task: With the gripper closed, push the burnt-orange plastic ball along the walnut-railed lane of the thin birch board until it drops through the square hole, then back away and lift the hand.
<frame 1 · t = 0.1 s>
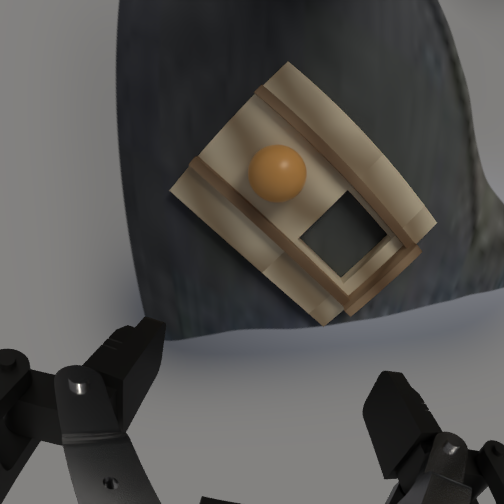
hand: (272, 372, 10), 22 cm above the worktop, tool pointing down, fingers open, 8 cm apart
ball: (277, 173, 26), point 4 cm above the worktop, touching deck
deck: (310, 200, 30), on the worktop
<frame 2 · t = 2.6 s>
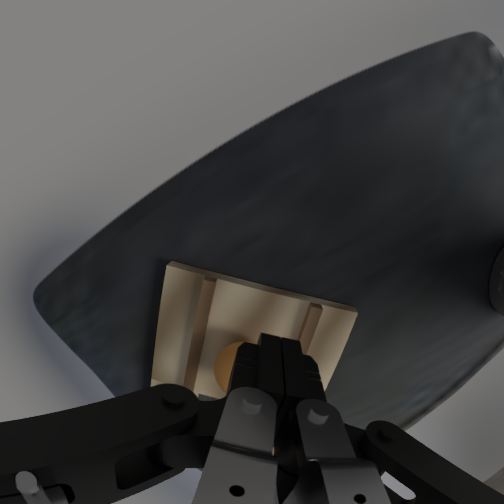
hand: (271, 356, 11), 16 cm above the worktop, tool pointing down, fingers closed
ball: (243, 370, 25), point 4 cm above the worktop, touching deck
deck: (236, 382, 29), on the worktop
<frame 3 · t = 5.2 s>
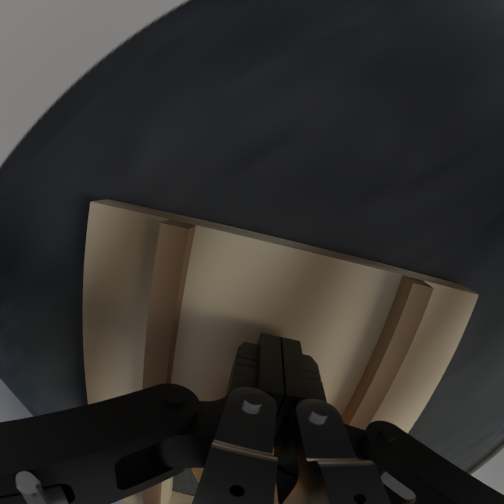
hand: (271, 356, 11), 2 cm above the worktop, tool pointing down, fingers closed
deck: (242, 435, 15), on the worktop
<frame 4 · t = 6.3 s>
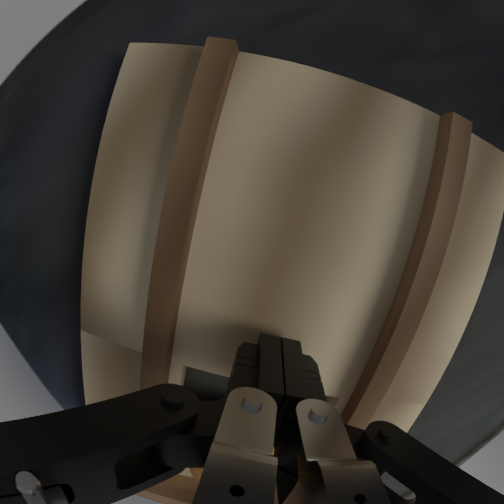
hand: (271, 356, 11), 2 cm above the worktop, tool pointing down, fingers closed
deck: (272, 339, 13), on the worktop
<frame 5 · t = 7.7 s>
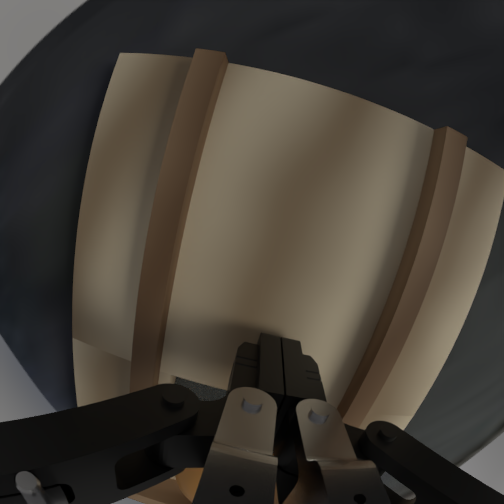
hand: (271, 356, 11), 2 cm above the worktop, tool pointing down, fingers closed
ball: (225, 470, 12), point 2 cm above the worktop, tilted 128°
deck: (260, 350, 13), on the worktop
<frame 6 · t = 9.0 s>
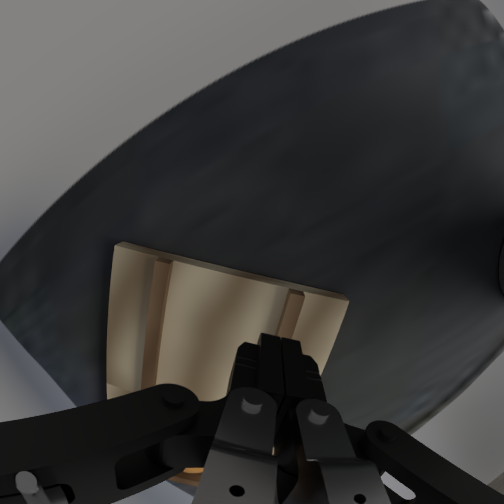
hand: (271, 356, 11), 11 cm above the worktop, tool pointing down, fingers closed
deck: (205, 388, 24), on the worktop
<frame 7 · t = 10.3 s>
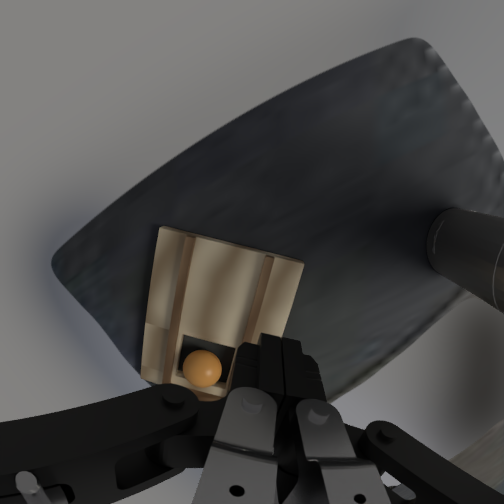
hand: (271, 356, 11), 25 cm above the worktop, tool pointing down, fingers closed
ball: (202, 368, 37), point 2 cm above the worktop, tilted 148°
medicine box: (406, 482, 46), on the worktop
deck: (213, 325, 38), on the worktop
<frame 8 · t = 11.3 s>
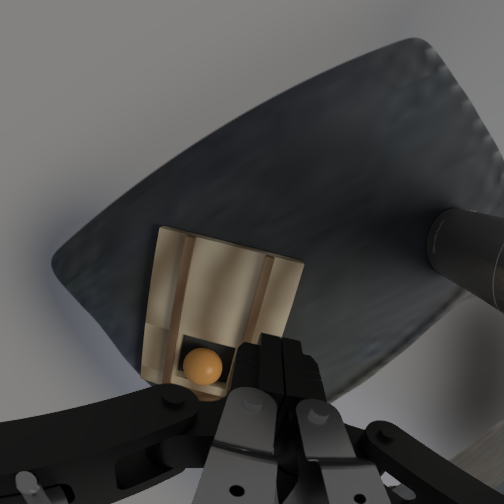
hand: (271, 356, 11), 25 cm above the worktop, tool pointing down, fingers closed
ball: (202, 366, 37), point 2 cm above the worktop, tilted 156°
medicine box: (406, 482, 46), on the worktop
deck: (213, 325, 38), on the worktop
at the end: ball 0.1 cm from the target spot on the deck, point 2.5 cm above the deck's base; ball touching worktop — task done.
